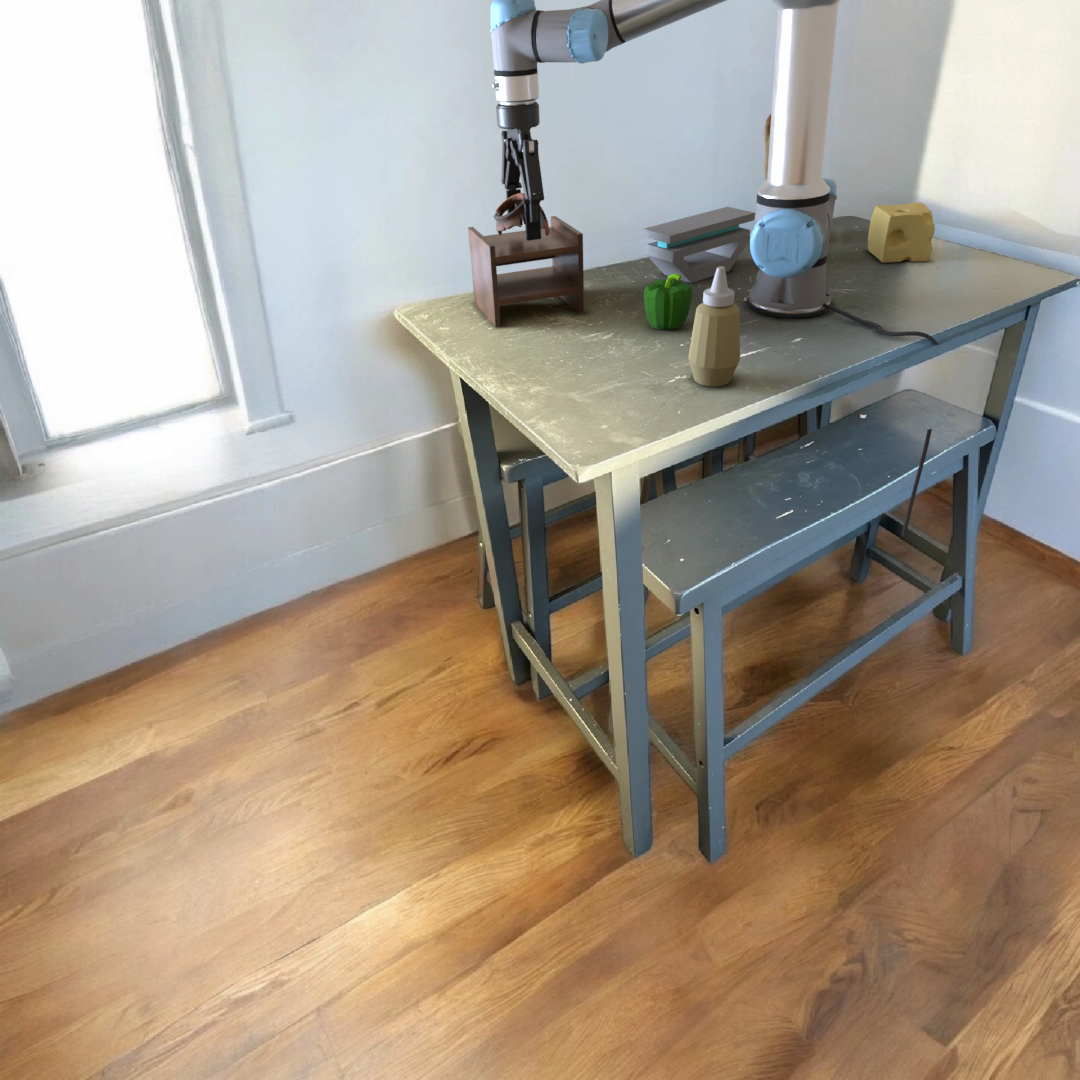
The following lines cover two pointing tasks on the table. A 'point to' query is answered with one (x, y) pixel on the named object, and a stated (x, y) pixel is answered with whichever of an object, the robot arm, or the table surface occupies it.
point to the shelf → (527, 284)
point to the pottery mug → (515, 214)
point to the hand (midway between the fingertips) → (524, 232)
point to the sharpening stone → (699, 243)
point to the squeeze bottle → (715, 335)
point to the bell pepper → (667, 302)
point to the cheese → (901, 232)
